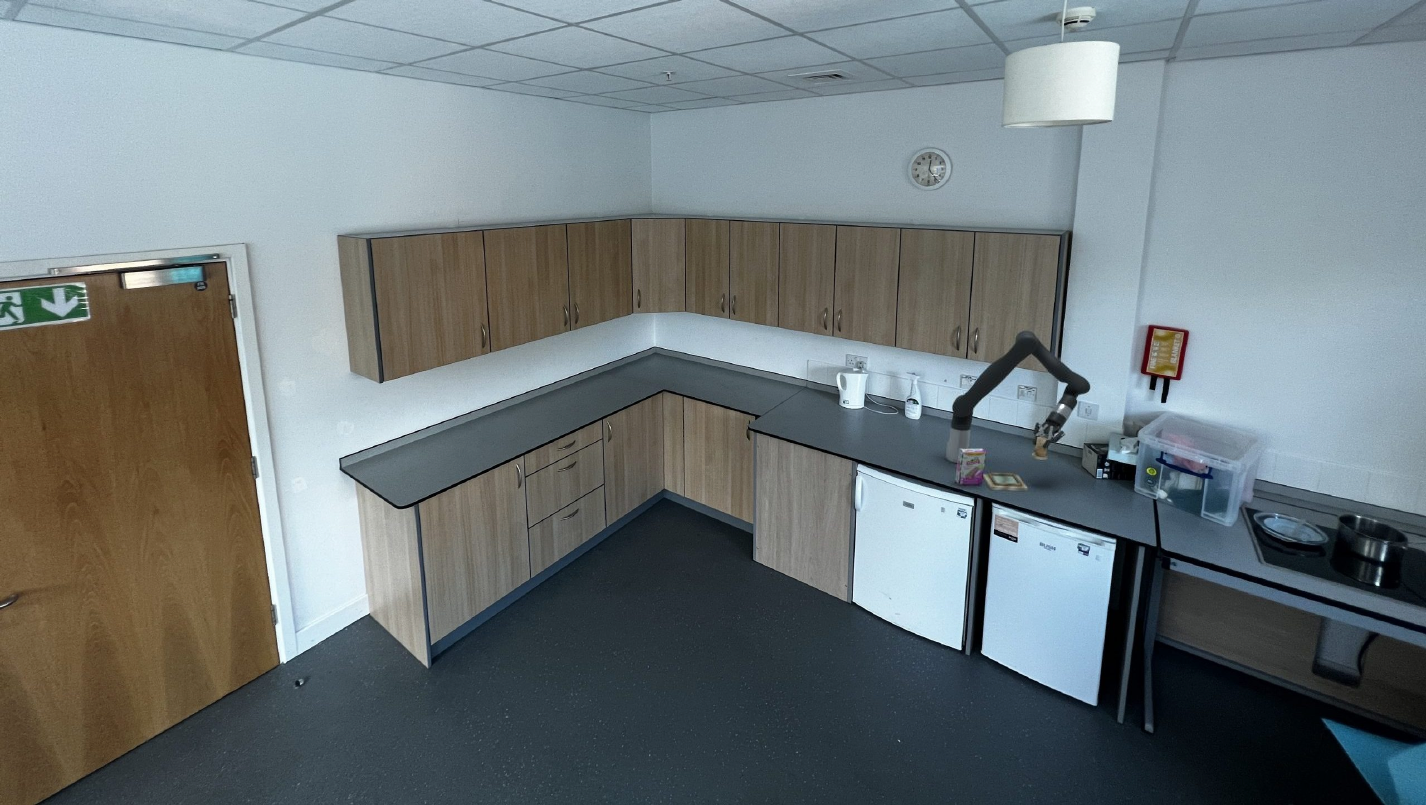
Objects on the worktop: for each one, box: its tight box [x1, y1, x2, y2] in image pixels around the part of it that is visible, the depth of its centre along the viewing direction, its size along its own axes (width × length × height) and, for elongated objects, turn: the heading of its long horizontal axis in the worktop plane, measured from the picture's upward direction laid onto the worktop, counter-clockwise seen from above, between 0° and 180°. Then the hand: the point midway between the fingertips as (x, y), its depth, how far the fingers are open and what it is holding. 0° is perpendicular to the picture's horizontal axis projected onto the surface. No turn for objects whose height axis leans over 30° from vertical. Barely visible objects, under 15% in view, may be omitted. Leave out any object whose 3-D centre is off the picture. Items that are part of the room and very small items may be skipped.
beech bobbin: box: [1031, 436, 1049, 461], centre depth 321 cm, size 6×6×9 cm
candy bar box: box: [954, 448, 987, 486], centre depth 327 cm, size 11×5×16 cm, turn 92°
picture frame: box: [983, 472, 1028, 492], centre depth 328 cm, size 16×14×3 cm
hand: (1038, 445), depth 320 cm, fingers closed on beech bobbin, 4 cm apart
